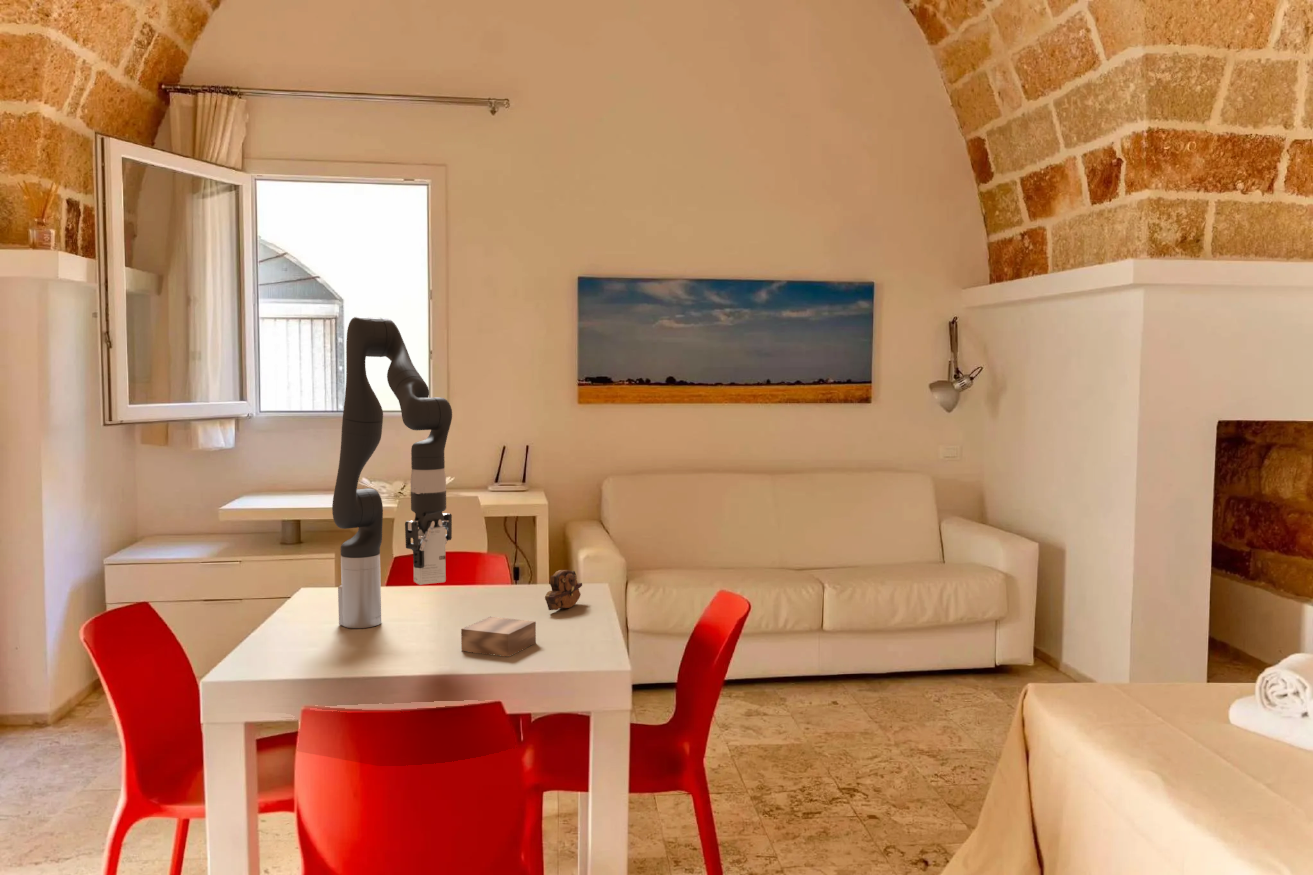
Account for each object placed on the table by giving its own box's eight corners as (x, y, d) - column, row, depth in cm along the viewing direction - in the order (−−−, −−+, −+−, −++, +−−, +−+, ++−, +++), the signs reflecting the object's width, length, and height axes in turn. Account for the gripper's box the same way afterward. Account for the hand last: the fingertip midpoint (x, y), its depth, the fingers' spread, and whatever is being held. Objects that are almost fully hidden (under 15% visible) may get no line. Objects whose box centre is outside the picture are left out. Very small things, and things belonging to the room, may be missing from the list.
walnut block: (461, 651, 222) (461, 628, 222) (490, 637, 233) (490, 616, 233) (508, 656, 218) (508, 634, 217) (535, 643, 229) (535, 621, 228)
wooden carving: (560, 616, 254) (559, 577, 253) (543, 615, 255) (543, 576, 254) (585, 602, 269) (585, 565, 269) (569, 601, 271) (569, 564, 270)
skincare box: (420, 585, 216) (419, 529, 215) (412, 581, 219) (411, 526, 218) (447, 582, 219) (446, 527, 218) (439, 578, 223) (438, 524, 222)
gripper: (433, 485, 226) (434, 557, 227) (393, 492, 213) (394, 569, 214) (461, 486, 223) (462, 560, 224) (422, 493, 210) (424, 571, 211)
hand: (429, 564), depth 219 cm, fingers closed on skincare box, 7 cm apart
